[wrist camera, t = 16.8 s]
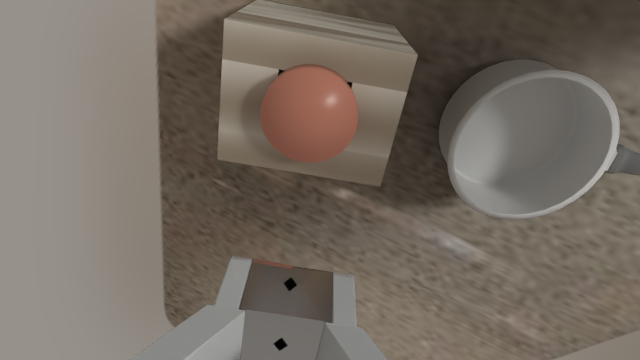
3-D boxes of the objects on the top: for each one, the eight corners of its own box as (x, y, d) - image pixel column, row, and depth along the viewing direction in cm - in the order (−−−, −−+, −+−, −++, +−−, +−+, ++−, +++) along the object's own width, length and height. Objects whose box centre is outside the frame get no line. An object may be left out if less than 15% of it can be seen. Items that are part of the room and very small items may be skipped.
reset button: (275, 44, 24) (265, 60, 20) (362, 60, 24) (367, 79, 20) (266, 126, 26) (255, 154, 23) (345, 140, 26) (347, 169, 23)
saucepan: (631, 205, 36) (677, 244, 32) (415, 173, 36) (428, 208, 31) (710, 81, 31) (780, 105, 26) (455, 39, 30) (479, 56, 25)
